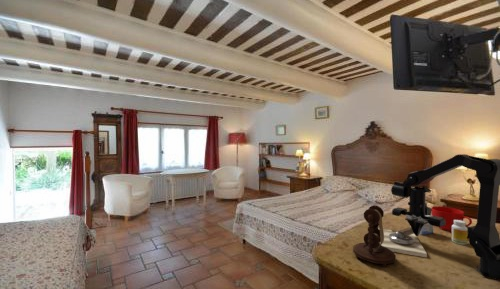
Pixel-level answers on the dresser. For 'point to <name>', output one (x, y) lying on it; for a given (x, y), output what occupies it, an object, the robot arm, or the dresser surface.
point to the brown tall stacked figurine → (374, 240)
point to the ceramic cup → (449, 216)
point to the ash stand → (406, 249)
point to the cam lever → (402, 236)
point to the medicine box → (426, 228)
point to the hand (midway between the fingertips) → (416, 235)
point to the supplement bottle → (459, 232)
